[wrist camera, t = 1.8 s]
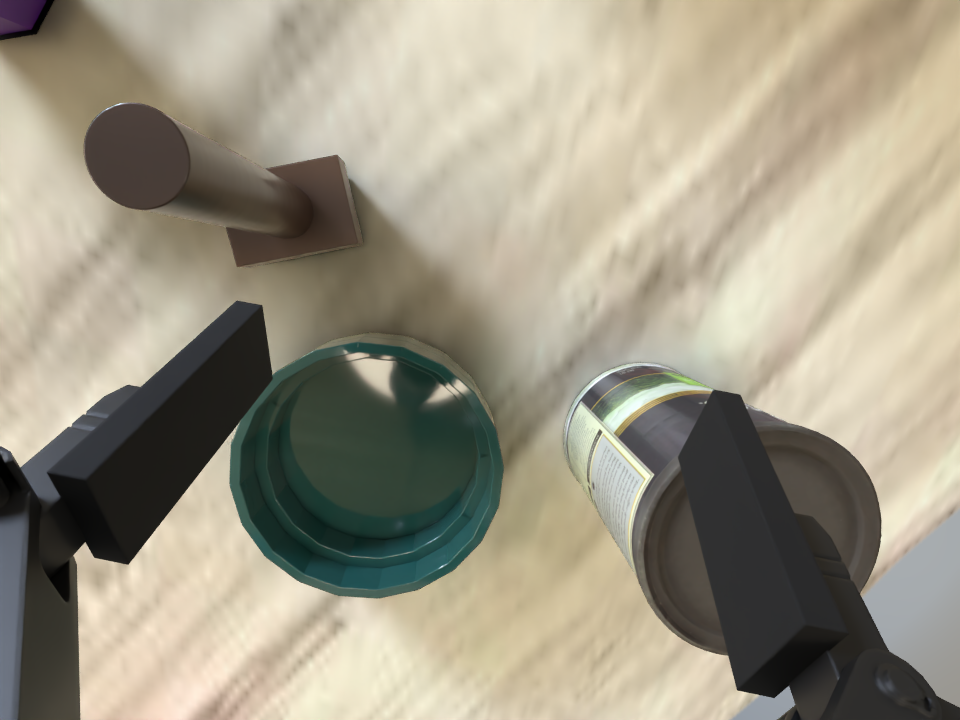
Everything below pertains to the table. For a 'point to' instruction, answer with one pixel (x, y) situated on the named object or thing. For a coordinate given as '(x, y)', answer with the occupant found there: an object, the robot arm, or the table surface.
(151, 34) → the table surface
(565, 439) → the coffee can
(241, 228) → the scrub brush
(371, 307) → the table surface
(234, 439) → the bowl
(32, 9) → the potion bottle
